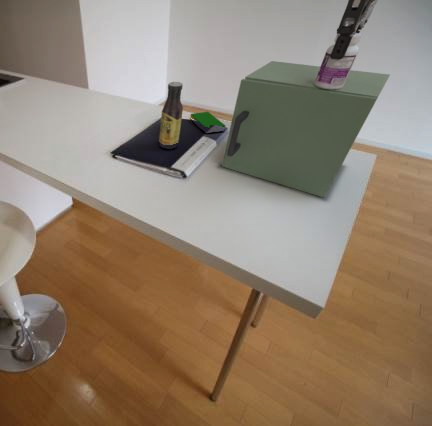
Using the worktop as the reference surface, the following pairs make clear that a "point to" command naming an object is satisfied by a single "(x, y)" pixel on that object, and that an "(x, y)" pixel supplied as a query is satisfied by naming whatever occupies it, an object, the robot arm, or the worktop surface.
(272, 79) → the cupboard
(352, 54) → the pill bottle
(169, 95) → the sauce bottle
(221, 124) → the dish sponge
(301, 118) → the cupboard door
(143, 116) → the worktop surface
